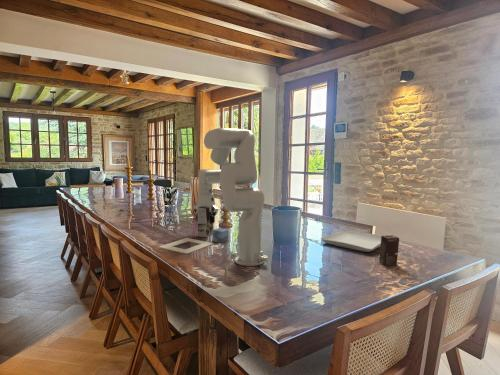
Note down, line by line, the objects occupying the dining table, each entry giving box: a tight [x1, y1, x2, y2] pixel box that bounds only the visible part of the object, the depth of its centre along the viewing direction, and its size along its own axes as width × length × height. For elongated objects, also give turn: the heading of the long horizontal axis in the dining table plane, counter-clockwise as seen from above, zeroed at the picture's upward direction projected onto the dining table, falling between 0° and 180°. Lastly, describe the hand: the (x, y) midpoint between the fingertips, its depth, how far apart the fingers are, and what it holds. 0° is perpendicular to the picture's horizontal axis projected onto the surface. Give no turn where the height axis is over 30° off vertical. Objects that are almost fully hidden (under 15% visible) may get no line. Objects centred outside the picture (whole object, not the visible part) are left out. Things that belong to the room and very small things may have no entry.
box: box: [378, 235, 400, 266], centre depth 139 cm, size 6×4×12 cm
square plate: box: [320, 230, 382, 253], centre depth 170 cm, size 27×27×4 cm
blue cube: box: [211, 227, 229, 244], centre depth 172 cm, size 6×6×6 cm
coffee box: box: [196, 207, 215, 238], centre depth 183 cm, size 9×6×16 cm
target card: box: [158, 237, 215, 255], centre depth 162 cm, size 18×20×1 cm
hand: (205, 222), depth 183 cm, fingers open, 9 cm apart
